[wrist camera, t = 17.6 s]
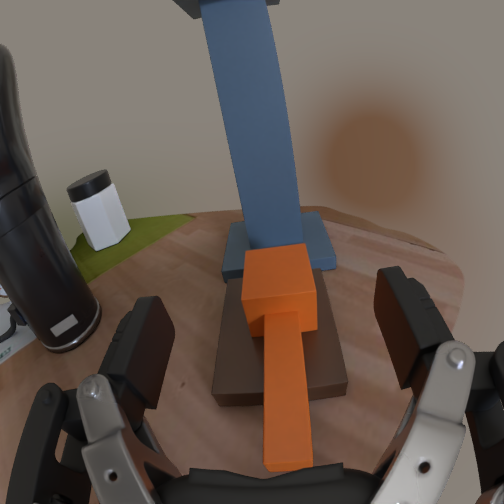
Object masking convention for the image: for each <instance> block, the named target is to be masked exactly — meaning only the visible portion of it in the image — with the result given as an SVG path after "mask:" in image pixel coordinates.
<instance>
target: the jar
mask: <svg viewBox="0 0 504 504" xmlns="http://www.w3.org/2000/svg"><path fill="white" fill-rule="evenodd" d="M67 192H68V195H69V197H70V200H71V205H72V207H73V210H74V212H75V215H76V217H77V219H78V222H79V224H80V226H81V229H82V231H83V233H84V235H85V237H86V240H87V242H88V244H89V246H91V247H92V248H93V249H94V250H95V251H99V250H101V249H104V248H107V247H109V246H112V245H114V244H117V243H119V242H120V241H121V240H122V238H123V237H124V236H125V235H126V234H127V233H128V232H129V231H130V230H131V228H130V226H129V223H128V221H127V218H126V216H125V213H124V210H123V208H122V205H121V202H120V200H119V197H118V194H117V191H116V188H115V186H114V184H113V183H111V180H110V177H109V174H108V171H107V170H101V171H98V172H95V173H92V174H90V175H88V176H86V177H83V178H82V179H80V180H78V181H76V182H74V183H73V184H71V185H70V186H69V187H68V188H67Z"/></svg>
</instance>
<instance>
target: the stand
mask: <svg viewBox="0 0 504 504" xmlns="http://www.w3.org/2000/svg"><path fill="white" fill-rule="evenodd" d="M173 1H174V2H175V3H176V4H177V5H179V6H180V7H181V8H182V9H183V10H184V11H185V12H186V13H187V14H188V15H189V16H191V17H192V18H193V19H198V18H201V17H202V21H203V26H204V30H205V35H206V40H207V44H208V49H209V54H210V59H211V64H212V68H213V73H214V78H215V82H216V87H217V92H218V97H219V102H220V106H221V111H222V116H223V120H224V125H225V130H226V135H227V140H228V144H229V149H230V154H231V159H232V163H233V168H234V173H235V177H236V182H237V187H238V191H239V196H240V201H241V205H242V211H243V215H244V220H245V221H242V222H235V223H231V226H230V230H229V235H228V240H227V245H226V250H225V255H224V261H223V266H222V271H221V272H222V275H223V279H224V282H225V283H227V282H228V279H237V278H243V273H244V262H245V252H246V251H249V250H256V249H264V248H271V247H279V246H287V245H294V244H302V243H305V244H306V248H307V252H308V256H309V261H310V265H311V269H315V268H321V271H323V270H330V269H336V255H335V252H334V250H333V247H332V244H331V242H330V239H329V237H328V234H327V232H326V229H325V227H324V224H323V222H322V220H321V217H320V215H319V212H318V211H315V212H307V213H300V204H299V195H298V187H297V178H296V170H295V162H294V155H293V148H292V141H291V135H290V127H289V121H288V114H287V108H286V102H285V96H284V90H283V85H282V79H281V74H280V68H279V63H278V58H277V52H276V48H275V42H274V38H273V33H272V28H271V24H270V19H269V15H268V10H267V6H268V5H277V4H279V2H280V0H173Z"/></svg>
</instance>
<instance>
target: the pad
mask: <svg viewBox="0 0 504 504" xmlns="http://www.w3.org/2000/svg"><path fill="white" fill-rule="evenodd" d="M312 274H313V278H314V282H315V287H316V294H317V330H313V331H306V332H301V335H302V344H303V353H304V362H305V371H306V381H307V391H308V401H309V400H316V399H323V398H330V397H336V396H342V395H345V394H346V389H347V384H348V379H347V374H346V369H345V364H344V360H343V355H342V351H341V346H340V342H339V338H338V334H337V329H336V325H335V321H334V317H333V313H332V309H331V305H330V301H329V297H328V294H327V290H326V286H325V282H324V279H323V275H322V271H321V268H315V269H312ZM242 284H243V278H237V279H228V282H227V289H226V296H225V302H224V309H223V316H222V323H221V329H220V336H219V343H218V351H217V358H216V365H215V372H214V380H213V387H212V395H213V397H214V399H215V400H216V402H217V403H218V405H219V406H249V405H264V336H261V337H251V334H250V330H249V327H248V323H247V319H246V316H245V312H244V309H243V305H242V301H241V295H242Z"/></svg>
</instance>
